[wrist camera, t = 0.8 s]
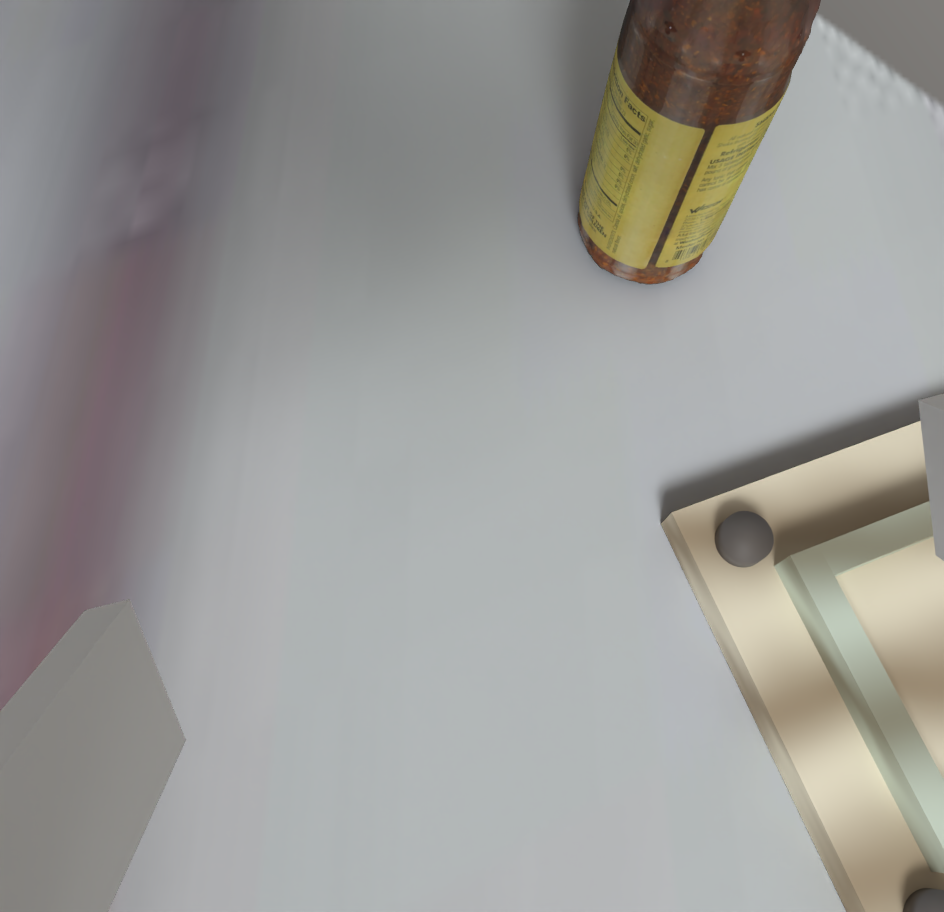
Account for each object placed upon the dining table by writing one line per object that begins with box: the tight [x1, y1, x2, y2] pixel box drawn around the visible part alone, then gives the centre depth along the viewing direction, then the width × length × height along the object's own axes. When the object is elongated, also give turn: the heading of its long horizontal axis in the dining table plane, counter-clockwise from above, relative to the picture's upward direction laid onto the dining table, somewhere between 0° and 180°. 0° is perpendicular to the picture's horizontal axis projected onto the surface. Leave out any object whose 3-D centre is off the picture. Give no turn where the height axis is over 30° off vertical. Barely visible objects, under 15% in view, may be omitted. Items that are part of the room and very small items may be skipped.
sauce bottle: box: [578, 0, 821, 284], centre depth 32 cm, size 6×6×20 cm
